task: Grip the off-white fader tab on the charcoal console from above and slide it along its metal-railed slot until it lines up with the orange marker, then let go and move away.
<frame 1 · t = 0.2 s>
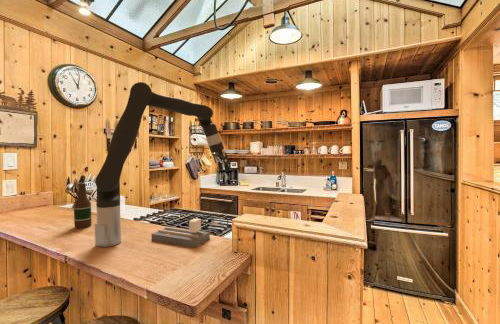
hand: (224, 170, 135), 31 cm above the countertop, tool tilted 20°, fingers open, 8 cm apart
console: (181, 239, 115), on the countertop
fader tab: (195, 227, 112), point 7 cm above the countertop, slide at 0.0 cm
beer bottle: (83, 227, 134), on the countertop
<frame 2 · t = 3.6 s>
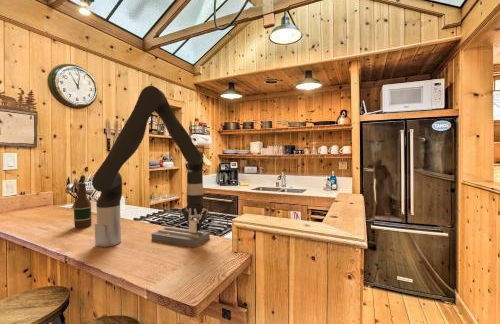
hand: (195, 230, 112), 5 cm above the countertop, tool pointing down, fingers closed on fader tab, 3 cm apart
fader tab: (195, 227, 112), point 7 cm above the countertop, slide at 0.0 cm, touching gripper
everything else where it was.
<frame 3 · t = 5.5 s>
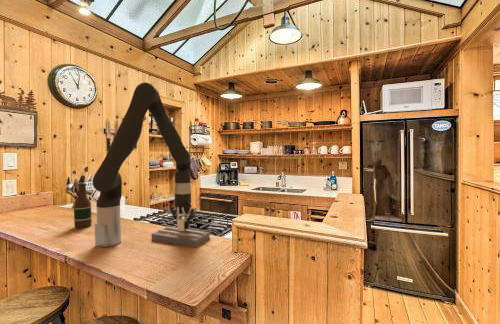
hand: (183, 228, 115), 5 cm above the countertop, tool pointing down, fingers closed on fader tab, 3 cm apart
fader tab: (183, 225, 115), point 7 cm above the countertop, slide at 6.7 cm, touching gripper
everything else where it was.
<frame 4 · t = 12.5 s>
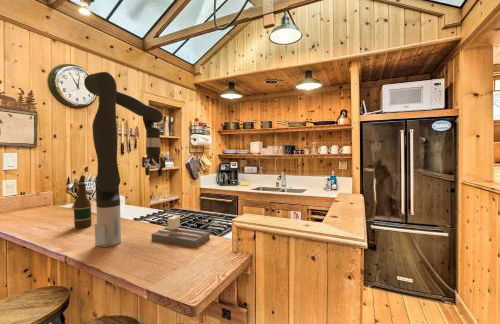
hand: (153, 175, 135), 28 cm above the countertop, tool pointing down, fingers open, 8 cm apart
fader tab: (173, 224, 117), point 7 cm above the countertop, slide at 12.0 cm
everything else where it was.
at the end: fader tab slide at 12.0 cm; the gripper is holding nothing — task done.
